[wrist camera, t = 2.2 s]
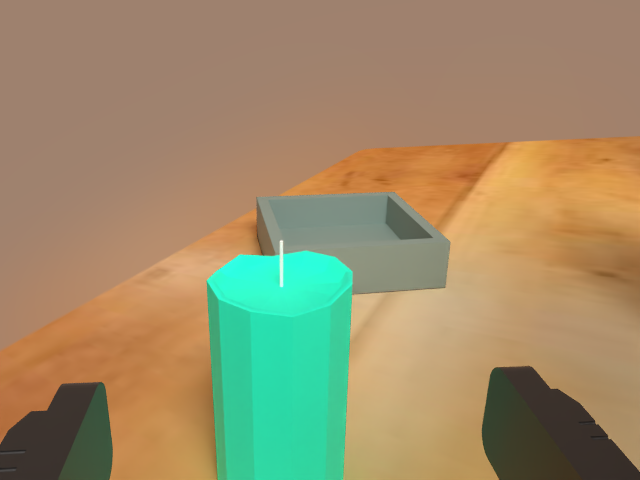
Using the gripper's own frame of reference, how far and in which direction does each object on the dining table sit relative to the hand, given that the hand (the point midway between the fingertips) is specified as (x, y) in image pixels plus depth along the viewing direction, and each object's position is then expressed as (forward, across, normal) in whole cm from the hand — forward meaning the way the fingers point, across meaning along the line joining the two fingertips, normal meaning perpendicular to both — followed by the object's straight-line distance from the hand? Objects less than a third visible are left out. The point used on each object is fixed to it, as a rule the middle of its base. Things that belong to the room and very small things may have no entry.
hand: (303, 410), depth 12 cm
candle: (+12, 0, +13) cm, 17 cm away
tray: (+37, -7, +12) cm, 40 cm away
